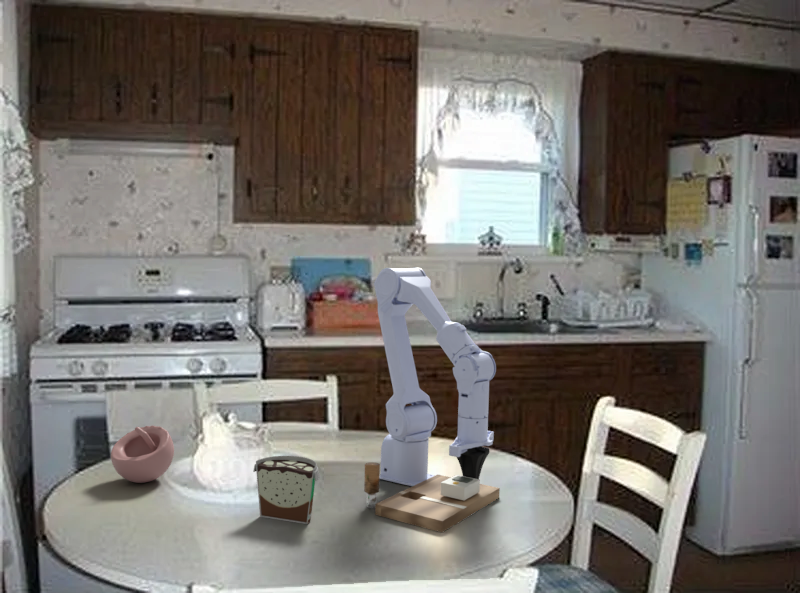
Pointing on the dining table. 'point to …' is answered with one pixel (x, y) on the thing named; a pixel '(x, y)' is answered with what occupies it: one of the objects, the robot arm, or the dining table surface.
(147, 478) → the mortar and pestle
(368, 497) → the brown translucent cylinder
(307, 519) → the food container
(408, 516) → the board
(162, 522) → the dining table surface
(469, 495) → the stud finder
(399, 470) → the robot arm
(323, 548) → the dining table surface
